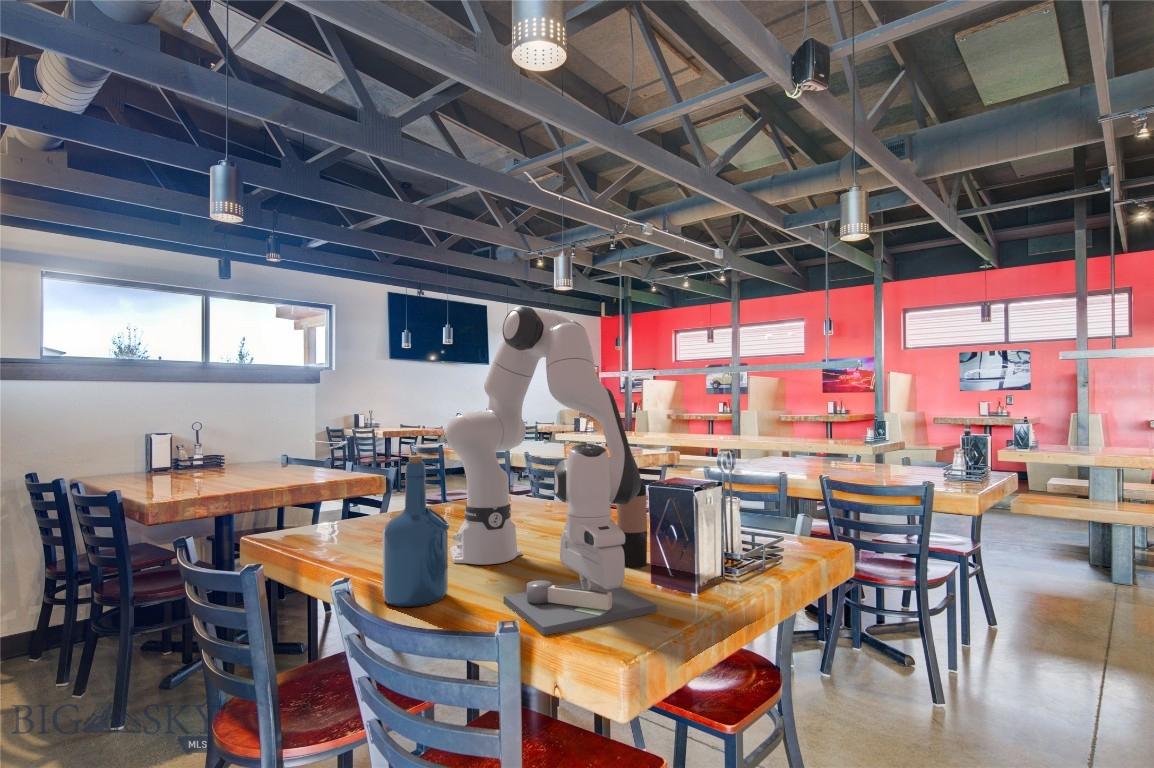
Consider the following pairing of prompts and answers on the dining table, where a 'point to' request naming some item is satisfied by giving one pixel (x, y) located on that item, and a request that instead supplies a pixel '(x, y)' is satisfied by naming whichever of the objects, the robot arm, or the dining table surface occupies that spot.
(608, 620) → the dial plate
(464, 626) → the dining table surface
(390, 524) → the wine bottle
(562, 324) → the robot arm
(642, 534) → the travel mug
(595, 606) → the dial lever
